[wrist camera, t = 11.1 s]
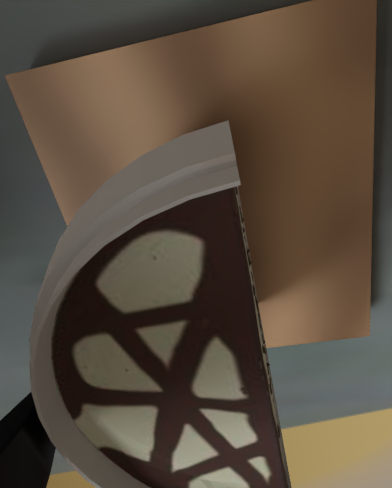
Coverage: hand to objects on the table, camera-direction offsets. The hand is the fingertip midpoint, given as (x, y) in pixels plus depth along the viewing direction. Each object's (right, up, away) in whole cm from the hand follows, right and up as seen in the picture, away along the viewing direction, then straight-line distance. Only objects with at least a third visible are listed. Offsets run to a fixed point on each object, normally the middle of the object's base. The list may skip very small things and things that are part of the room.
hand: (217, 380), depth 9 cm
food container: (-1, +4, +8) cm, 9 cm away
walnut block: (+1, +5, +10) cm, 11 cm away
